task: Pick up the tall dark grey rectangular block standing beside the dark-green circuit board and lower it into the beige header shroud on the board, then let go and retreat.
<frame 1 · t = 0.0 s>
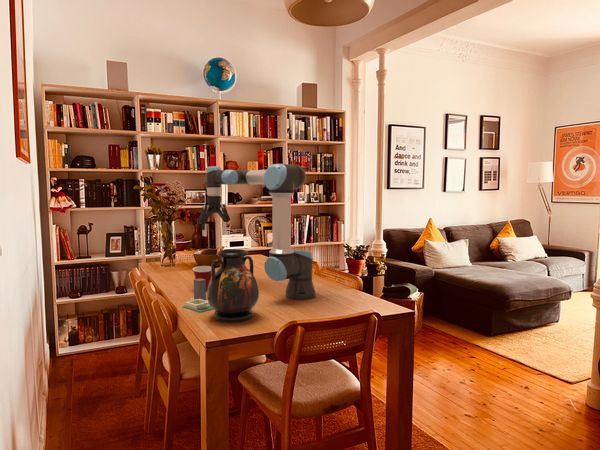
hand: (214, 235, 241), 28 cm above the table, fingers open, 13 cm apart
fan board: (199, 307, 201), on the table
dark grey rectangular block: (200, 300, 214), on the table
amphora vase: (233, 317, 187), on the table
plastic cup: (203, 290, 233), on the table
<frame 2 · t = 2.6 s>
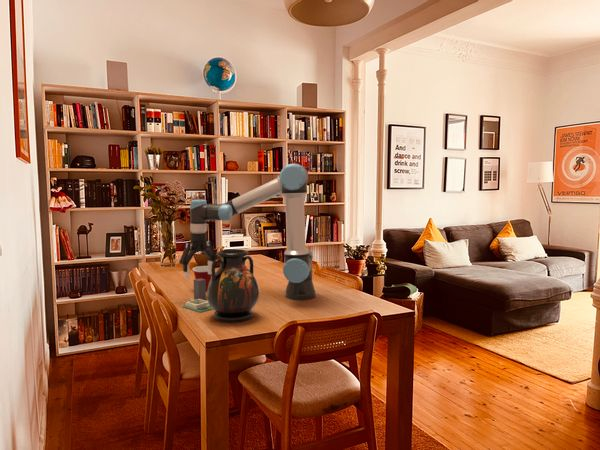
hand: (198, 276, 213), 12 cm above the table, fingers open, 13 cm apart
nothing on the table moved.
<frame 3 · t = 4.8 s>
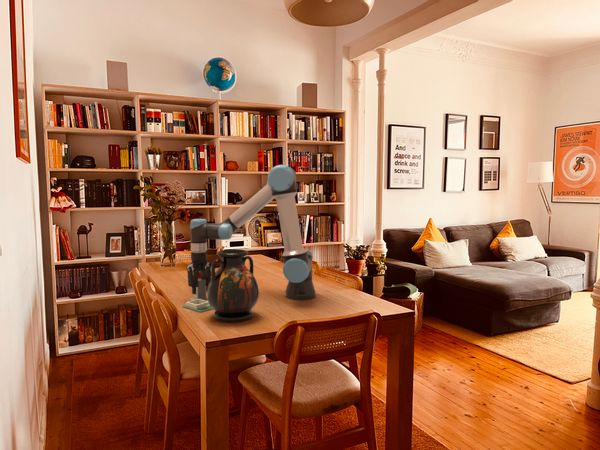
hand: (199, 299, 214), 0 cm above the table, fingers closed on dark grey rectangular block, 4 cm apart
dark grey rectangular block: (200, 300, 214), on the table, touching gripper
everything else where it was.
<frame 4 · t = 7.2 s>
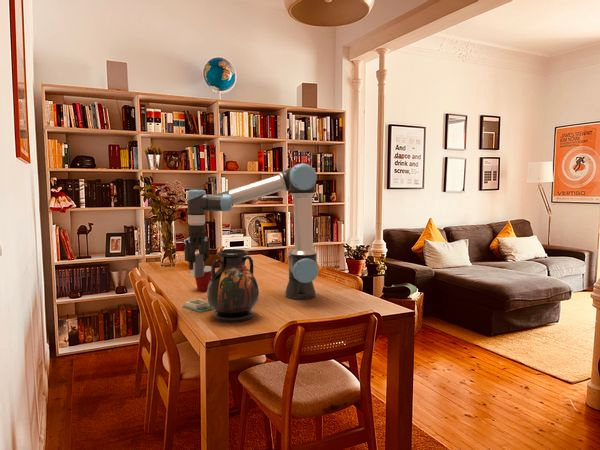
hand: (197, 275, 201), 14 cm above the table, fingers closed on dark grey rectangular block, 4 cm apart
dark grey rectangular block: (197, 276, 201), point 14 cm above the table, touching gripper
everything else where it was.
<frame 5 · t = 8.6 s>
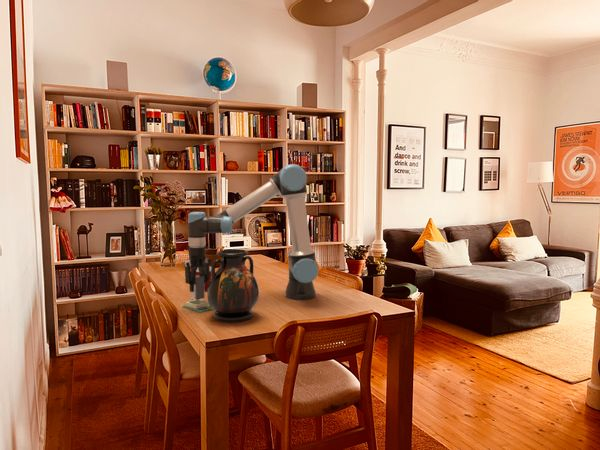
hand: (197, 297, 202), 4 cm above the table, fingers closed on dark grey rectangular block, 4 cm apart
dark grey rectangular block: (197, 298, 202), point 4 cm above the table, touching gripper
everything else where it was.
when the fingers open (3 cm above the table, at t = 9.7 s): dark grey rectangular block drops 2 cm, resting on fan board.
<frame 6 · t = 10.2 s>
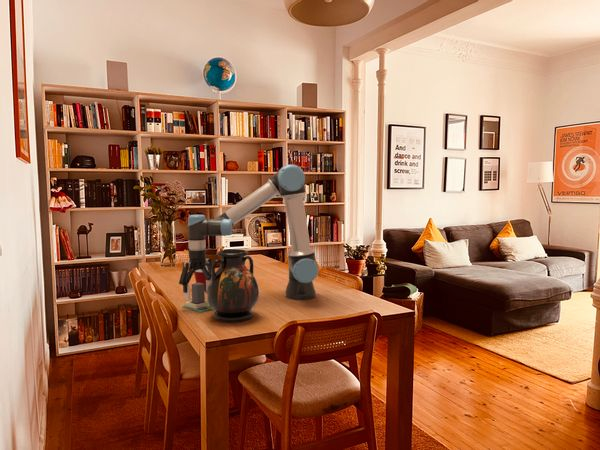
hand: (198, 296, 202), 5 cm above the table, fingers open, 11 cm apart
dark grey rectangular block: (198, 305, 203), point 1 cm above the table, touching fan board
everything else where it was.
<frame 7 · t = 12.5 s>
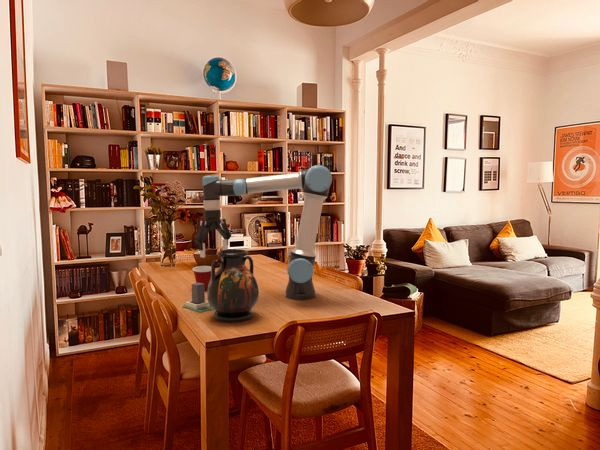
hand: (214, 255, 207), 23 cm above the table, fingers open, 13 cm apart
nothing on the table moved.
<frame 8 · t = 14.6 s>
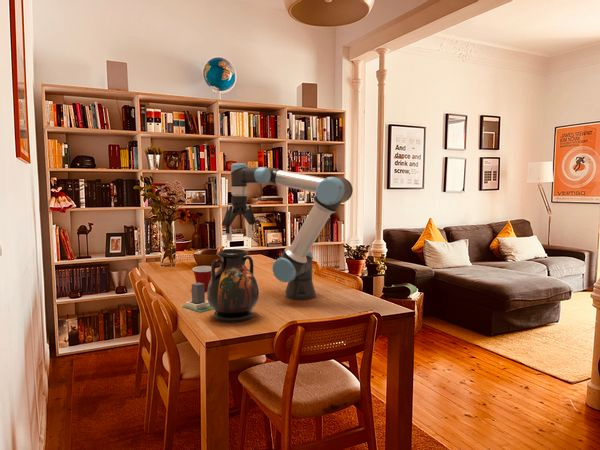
hand: (239, 239, 218), 29 cm above the table, fingers open, 13 cm apart
nothing on the table moved.
at the end: dark grey rectangular block 0.0 cm from the target spot on the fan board, point 0.6 cm above the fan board's base; dark grey rectangular block tilted 0°; the gripper is holding nothing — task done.
